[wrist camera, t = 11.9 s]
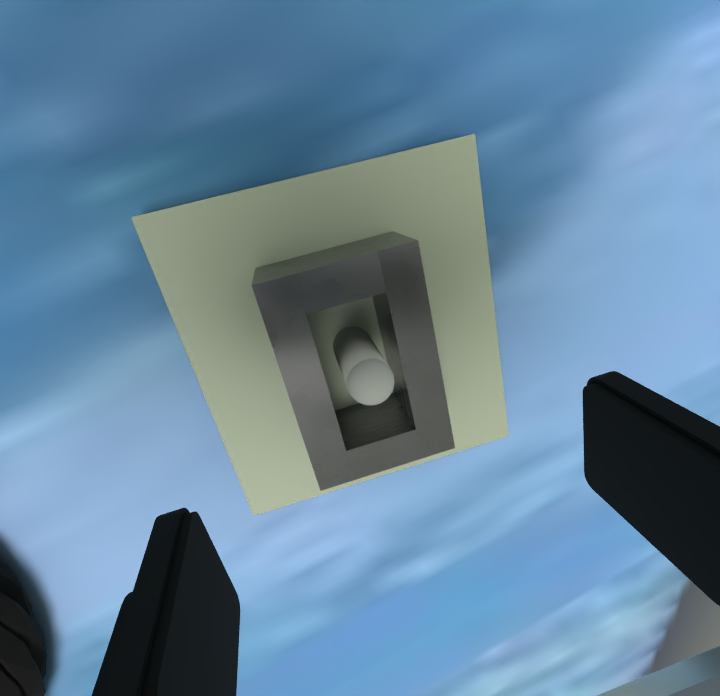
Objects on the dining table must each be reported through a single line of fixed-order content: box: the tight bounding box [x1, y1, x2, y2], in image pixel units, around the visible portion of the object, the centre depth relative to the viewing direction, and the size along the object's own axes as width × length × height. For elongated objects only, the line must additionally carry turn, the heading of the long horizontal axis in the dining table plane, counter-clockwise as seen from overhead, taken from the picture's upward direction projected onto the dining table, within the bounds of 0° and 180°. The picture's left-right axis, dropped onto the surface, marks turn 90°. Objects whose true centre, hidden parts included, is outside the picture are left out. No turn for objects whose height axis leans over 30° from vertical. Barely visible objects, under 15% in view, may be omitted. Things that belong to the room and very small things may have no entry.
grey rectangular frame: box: [252, 231, 455, 491], centre depth 18 cm, size 9×6×4 cm, turn 13°
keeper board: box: [131, 134, 509, 516], centre depth 19 cm, size 15×14×6 cm
